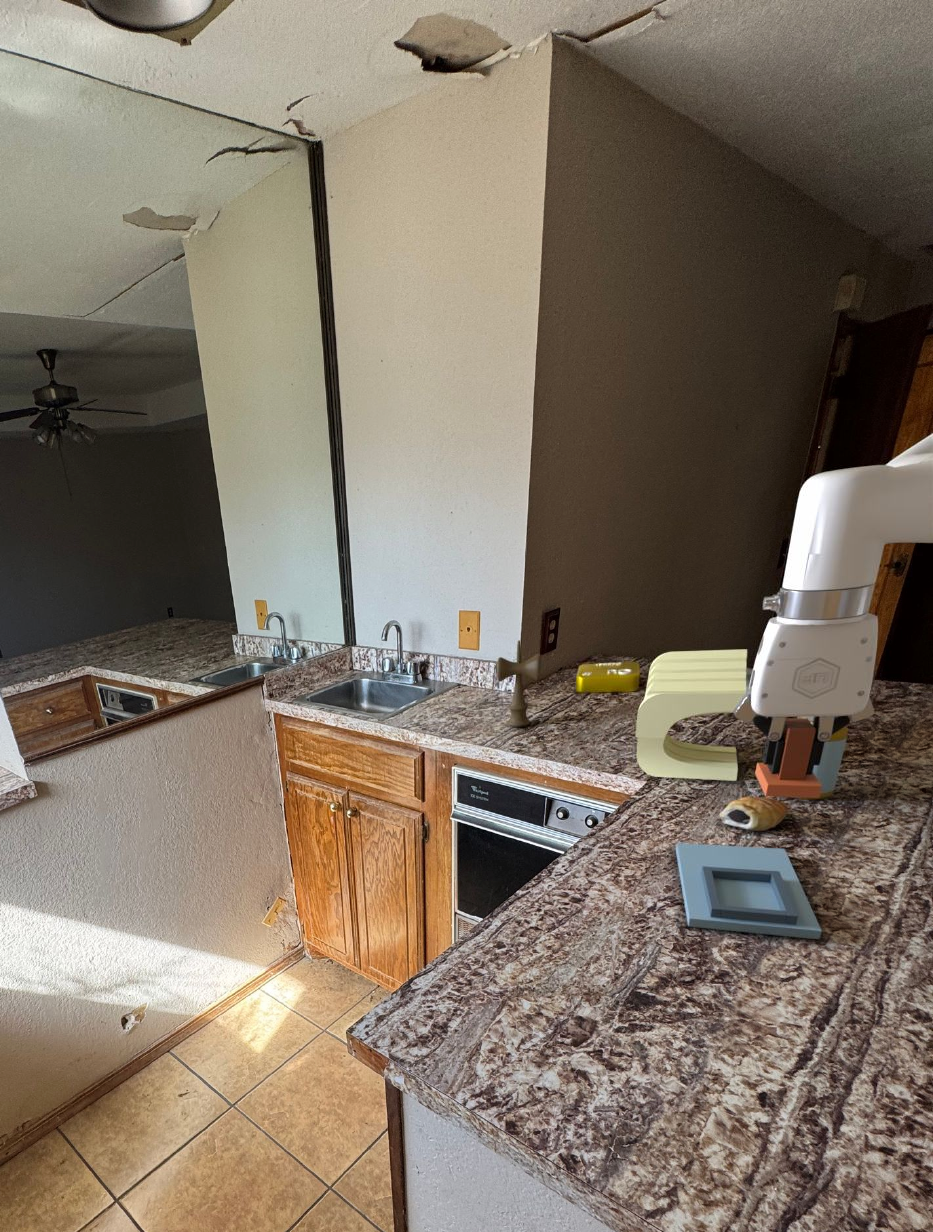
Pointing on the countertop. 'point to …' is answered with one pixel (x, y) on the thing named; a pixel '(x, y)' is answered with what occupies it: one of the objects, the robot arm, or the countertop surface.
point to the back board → (744, 891)
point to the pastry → (754, 813)
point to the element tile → (608, 677)
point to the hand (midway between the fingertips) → (789, 769)
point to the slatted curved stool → (689, 712)
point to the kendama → (519, 684)
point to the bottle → (829, 761)
